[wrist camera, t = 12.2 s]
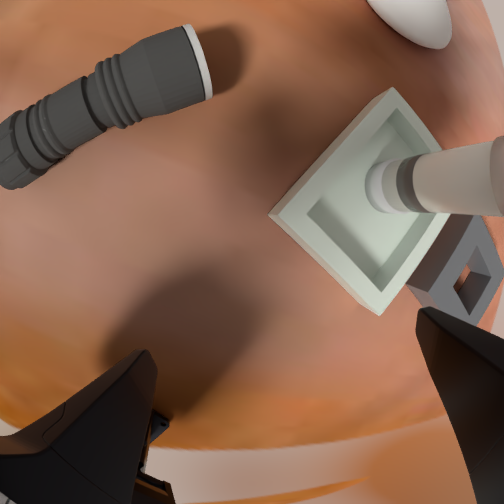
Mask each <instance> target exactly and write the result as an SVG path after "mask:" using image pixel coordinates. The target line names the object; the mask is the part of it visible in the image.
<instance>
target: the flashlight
mask: <svg viewBox="0 0 504 504" xmlns="http://www.w3.org/2000/svg"><path fill="white" fill-rule="evenodd" d="M211 98H212V84H211V79H210V74H209V70H208V67H207V64H206V60H205V57H204V53H203V50H202V47H201V45H200V43H199V40H198V38H197V36H196V33H195V31H194V29H193V28H192V26H191V25H190V24H186V25H183V26H181V27H176V28H173V29H170V30H167V31H164V32H161V33H158V34H155V35H152V36H150V37H147V38H144V39H142V40H140V41H139V42H137V43H136V44H134V45H133V46H131V47H130V48H128V49H127V50H125V51H124V52H123V53H121V54H115V55H113V57H112V58H106V59H105V61H100V62H98V63H97V65H96V67H95V72H94V73H92V74H90V75H89V76H88V78H87V77H86V76H83V77H81V78H79V79H77V80H75V81H74V82H72V83H70V84H68V85H67V86H65V87H63V88H61V89H60V90H58V91H57V92H55V93H53V94H50V95H47V96H45V97H44V98H43V99H42V100H39V101H38V102H37V103H36V105H35V104H34V105H31V106H29V107H28V108H26V109H25V110H24V111H22V110H19V111H16V112H15V113H13V114H12V115H11V116H9V117H8V118H7V119H6V120H4V121H3V122H2V123H1V124H0V185H1V186H2V187H4V188H6V189H9V190H14V189H16V188H23V187H25V186H27V185H28V184H30V183H31V182H33V181H34V180H36V179H37V178H39V177H40V176H42V175H43V174H45V173H46V172H47V171H48V168H49V166H51V165H52V164H54V163H55V162H57V161H58V159H59V158H63V157H64V156H65V155H66V154H70V153H71V152H72V151H73V150H74V148H76V147H78V146H79V145H81V144H83V143H85V142H87V141H88V140H90V139H92V138H94V137H96V136H98V135H100V134H102V133H104V132H105V131H106V129H107V127H109V128H110V127H112V126H114V125H116V126H117V127H118V128H120V129H125V128H126V127H127V126H128V125H133V124H134V123H135V122H140V121H141V120H142V119H143V118H146V117H152V116H158V115H164V114H169V113H172V112H174V111H177V110H180V109H182V108H185V107H188V106H191V105H193V104H196V103H199V102H202V101H204V100H208V99H211Z"/></svg>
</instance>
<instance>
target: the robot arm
mask: <svg viewBox="0 0 504 504" xmlns="http://www.w3.org/2000/svg"><path fill="white" fill-rule="evenodd" d="M416 336H417V339H418V342H419V344H420V347H421V350H422V353H423V356H424V359H425V361H426V364H427V367H428V370H429V373H430V375H431V377H432V380H433V382H434V384H435V386H436V388H437V391H438V393H439V395H440V398H441V400H442V402H443V405H444V407H445V409H446V412H447V414H448V416H449V419H450V422H451V424H452V427H453V429H454V432H455V434H456V437H457V440H458V443H459V446H460V448H461V451H462V454H463V457H464V460H465V463H466V466H467V469H468V472H469V474H470V475H469V476H470V479H471V482H472V486H473V490H474V493H475V497H476V501H477V504H504V339H502V338H500V337H498V336H496V335H494V334H491V333H489V332H487V331H485V330H483V329H481V328H478V327H476V326H474V325H472V324H470V323H467V322H465V321H463V320H461V319H458V318H456V317H454V316H452V315H449V314H447V313H445V312H443V311H440V310H438V309H436V308H434V307H431V306H427V307H424V308H420V309H419V310H418V314H417V322H416ZM156 379H157V366H156V364H155V362H154V360H153V359H152V357H151V355H150V353H149V351H148V350H146V349H138V350H135V351H134V352H132V353H131V354H129V355H128V356H127V357H125V358H124V359H123V360H121V361H120V362H119V363H117V364H116V365H115V366H113V367H112V368H110V369H109V370H108V371H106V372H105V373H104V374H102V375H101V376H99V377H98V378H97V379H95V380H94V381H93V382H91V383H90V384H88V385H87V386H86V387H84V388H83V389H82V390H80V391H79V392H77V393H76V394H75V395H73V396H72V397H71V398H69V399H68V400H66V402H64V403H62V404H61V405H59V406H58V407H57V408H55V409H54V410H52V411H51V412H49V413H48V414H46V415H45V416H43V417H41V418H40V419H38V420H37V421H35V422H33V423H32V424H30V425H28V426H27V427H25V428H23V429H22V430H20V431H18V432H16V433H15V434H12V435H8V436H0V504H176V503H175V500H174V496H173V493H172V489H171V484H170V483H168V482H166V481H160V480H158V479H156V478H153V477H152V476H149V475H147V474H145V468H146V462H147V456H148V451H149V445H150V443H151V442H152V441H154V440H155V439H156V438H157V437H158V436H159V435H160V434H162V433H163V432H164V431H165V430H166V429H167V428H168V427H169V424H170V421H169V420H168V419H167V418H165V417H164V416H162V415H161V414H159V413H157V412H156V411H154V410H153V409H152V406H153V399H154V392H155V386H156ZM162 422H164V423H165V424H163V423H162Z"/></svg>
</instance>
